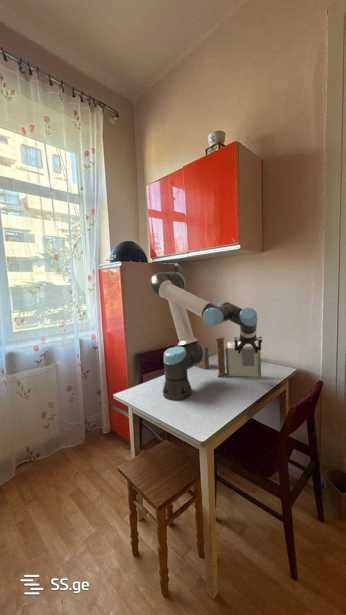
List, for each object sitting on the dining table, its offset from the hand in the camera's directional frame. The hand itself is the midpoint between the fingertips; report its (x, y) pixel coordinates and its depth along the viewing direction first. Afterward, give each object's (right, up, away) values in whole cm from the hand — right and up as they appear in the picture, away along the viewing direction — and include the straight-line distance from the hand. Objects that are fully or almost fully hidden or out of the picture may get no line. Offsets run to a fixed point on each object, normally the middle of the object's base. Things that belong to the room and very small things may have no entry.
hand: (247, 355), depth 138 cm
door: (0, -13, +7) cm, 15 cm away
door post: (-12, -14, +10) cm, 21 cm away
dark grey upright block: (-1, -4, -3) cm, 5 cm away
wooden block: (-22, -13, +28) cm, 38 cm away
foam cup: (+2, -11, +34) cm, 36 cm away
